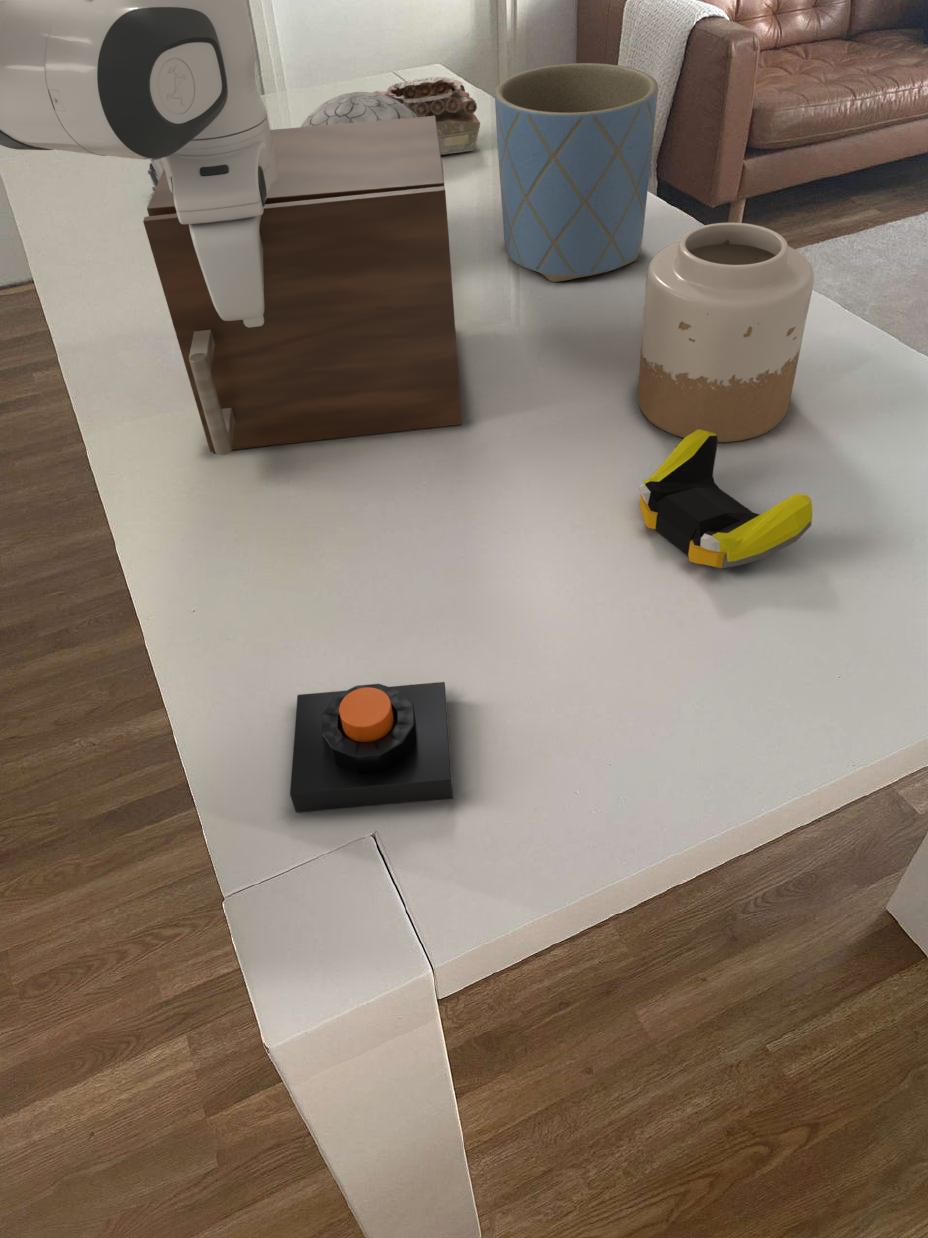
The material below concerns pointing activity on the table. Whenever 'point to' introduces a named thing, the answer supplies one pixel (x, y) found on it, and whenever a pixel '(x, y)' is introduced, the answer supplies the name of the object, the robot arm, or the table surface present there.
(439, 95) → the tank model
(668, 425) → the vase
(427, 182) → the cupboard
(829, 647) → the table surface
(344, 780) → the control block
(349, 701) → the button
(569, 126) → the planter
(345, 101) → the decorative sphere
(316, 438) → the cupboard door
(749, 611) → the table surface
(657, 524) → the gaming controller
